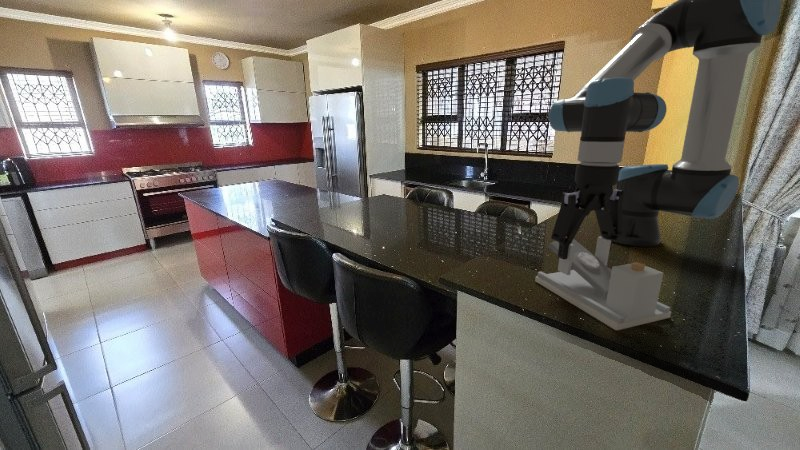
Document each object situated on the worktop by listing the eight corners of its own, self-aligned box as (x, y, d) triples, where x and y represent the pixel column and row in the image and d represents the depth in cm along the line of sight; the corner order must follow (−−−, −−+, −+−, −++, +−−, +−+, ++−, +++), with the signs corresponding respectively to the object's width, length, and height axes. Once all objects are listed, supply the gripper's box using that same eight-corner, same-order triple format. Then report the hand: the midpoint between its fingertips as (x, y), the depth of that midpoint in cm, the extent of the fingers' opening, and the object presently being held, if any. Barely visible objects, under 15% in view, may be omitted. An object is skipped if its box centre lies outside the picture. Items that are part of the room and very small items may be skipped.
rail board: (580, 273, 82) (585, 232, 79) (670, 317, 63) (682, 265, 60) (535, 281, 78) (539, 238, 75) (616, 330, 59) (626, 276, 56)
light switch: (609, 289, 65) (551, 239, 73) (591, 308, 68) (538, 258, 77) (630, 279, 69) (573, 233, 78) (612, 297, 73) (559, 251, 81)
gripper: (622, 160, 73) (606, 257, 79) (539, 163, 67) (528, 269, 73) (657, 163, 66) (636, 269, 72) (568, 167, 60) (553, 283, 66)
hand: (582, 269), depth 73 cm, fingers closed on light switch, 9 cm apart
